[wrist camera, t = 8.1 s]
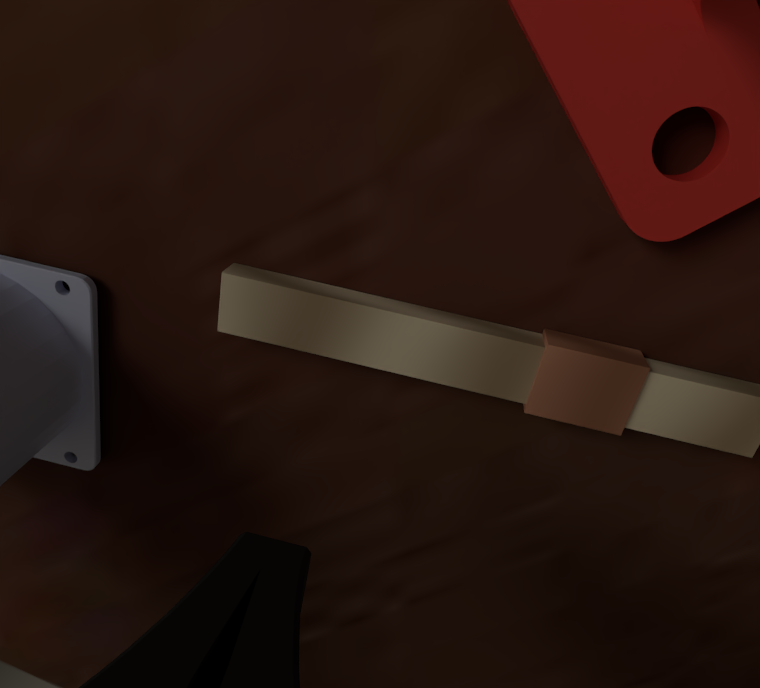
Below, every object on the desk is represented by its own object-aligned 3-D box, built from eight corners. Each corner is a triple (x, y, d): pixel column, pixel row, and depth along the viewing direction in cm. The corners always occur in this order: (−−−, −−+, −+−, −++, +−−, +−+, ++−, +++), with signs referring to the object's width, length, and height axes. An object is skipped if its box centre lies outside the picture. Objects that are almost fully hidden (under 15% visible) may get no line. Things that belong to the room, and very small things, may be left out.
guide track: (228, 324, 21) (214, 338, 19) (302, -560, 12) (284, -621, 11) (736, 444, 20) (751, 467, 19) (1206, -418, 11) (1284, -469, 10)
